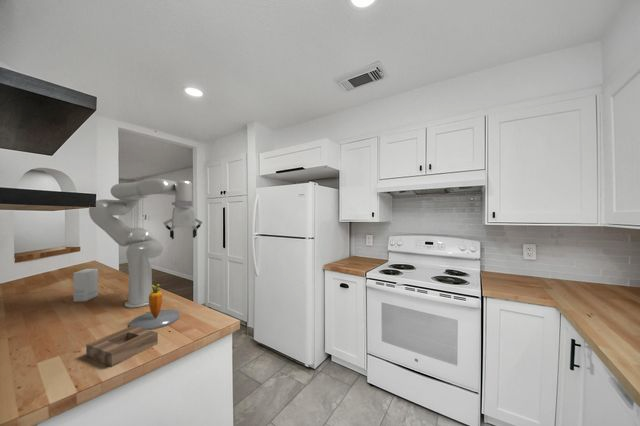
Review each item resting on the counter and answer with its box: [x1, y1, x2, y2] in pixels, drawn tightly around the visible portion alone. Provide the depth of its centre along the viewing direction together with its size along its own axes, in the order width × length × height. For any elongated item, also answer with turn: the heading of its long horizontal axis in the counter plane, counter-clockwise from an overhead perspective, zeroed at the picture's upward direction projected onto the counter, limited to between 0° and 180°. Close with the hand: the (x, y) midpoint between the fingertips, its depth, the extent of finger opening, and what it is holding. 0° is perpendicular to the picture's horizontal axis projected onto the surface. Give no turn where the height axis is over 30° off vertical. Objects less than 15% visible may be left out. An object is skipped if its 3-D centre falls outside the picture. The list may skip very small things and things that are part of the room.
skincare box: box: [73, 268, 99, 302], centre depth 130 cm, size 8×7×16 cm
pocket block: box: [85, 326, 159, 368], centre depth 82 cm, size 14×14×4 cm
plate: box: [129, 309, 181, 331], centre depth 104 cm, size 18×18×1 cm
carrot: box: [149, 283, 163, 318], centre depth 104 cm, size 5×5×15 cm
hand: (183, 238), depth 122 cm, fingers open, 9 cm apart
